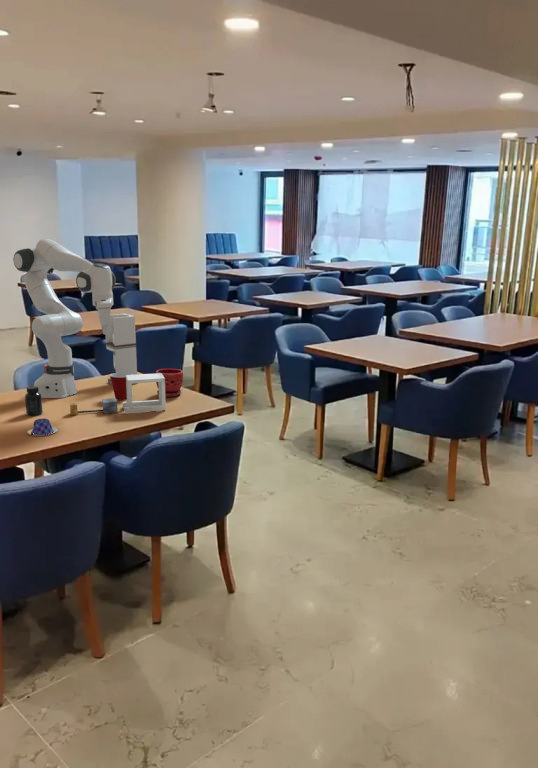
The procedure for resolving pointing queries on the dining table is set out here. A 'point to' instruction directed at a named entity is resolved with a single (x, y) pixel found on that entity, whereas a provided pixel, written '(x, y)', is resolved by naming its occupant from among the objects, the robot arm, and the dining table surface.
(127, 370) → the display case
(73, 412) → the grey mallet
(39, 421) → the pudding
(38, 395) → the supplement bottle
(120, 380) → the plastic cup
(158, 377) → the shelf
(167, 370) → the plant pot
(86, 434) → the dining table surface
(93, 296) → the robot arm
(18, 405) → the dining table surface
